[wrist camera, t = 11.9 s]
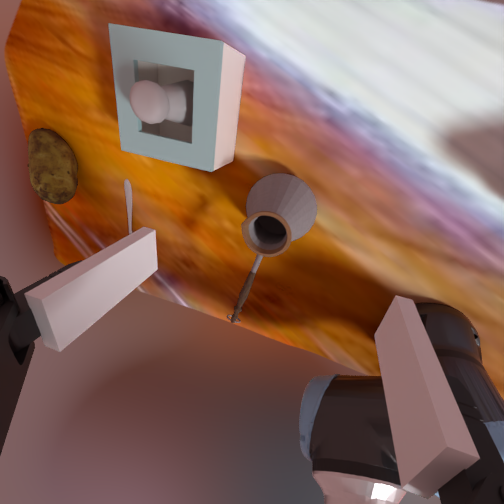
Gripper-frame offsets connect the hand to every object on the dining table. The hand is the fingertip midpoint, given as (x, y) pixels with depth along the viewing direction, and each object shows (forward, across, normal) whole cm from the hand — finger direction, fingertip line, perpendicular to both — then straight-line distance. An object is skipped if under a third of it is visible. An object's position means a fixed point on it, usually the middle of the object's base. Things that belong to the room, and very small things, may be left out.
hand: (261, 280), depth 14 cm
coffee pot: (+31, +4, +10) cm, 33 cm away
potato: (+30, +47, +7) cm, 56 cm away
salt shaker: (+30, +19, -7) cm, 36 cm away
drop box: (+30, +20, -7) cm, 37 cm away
